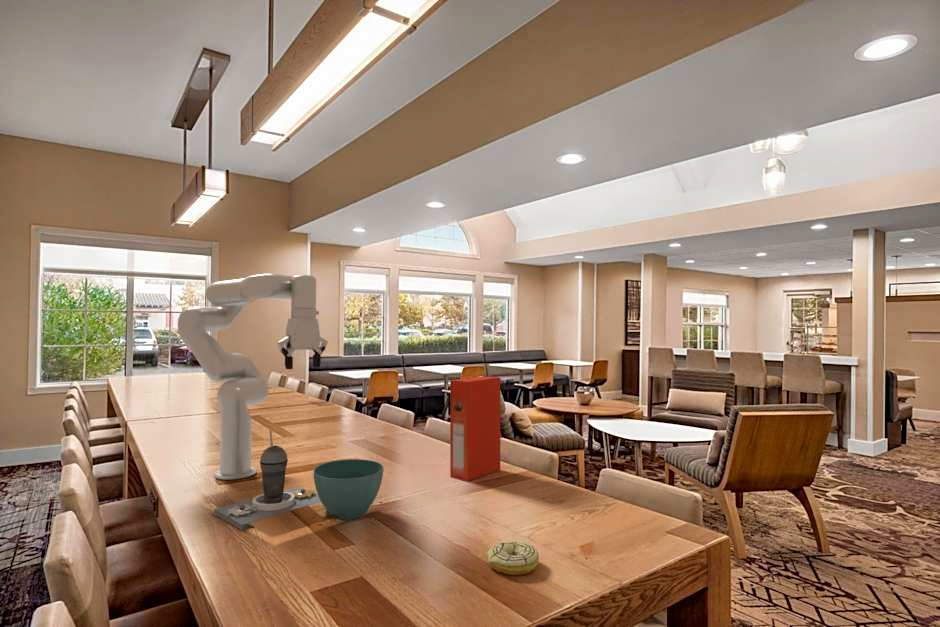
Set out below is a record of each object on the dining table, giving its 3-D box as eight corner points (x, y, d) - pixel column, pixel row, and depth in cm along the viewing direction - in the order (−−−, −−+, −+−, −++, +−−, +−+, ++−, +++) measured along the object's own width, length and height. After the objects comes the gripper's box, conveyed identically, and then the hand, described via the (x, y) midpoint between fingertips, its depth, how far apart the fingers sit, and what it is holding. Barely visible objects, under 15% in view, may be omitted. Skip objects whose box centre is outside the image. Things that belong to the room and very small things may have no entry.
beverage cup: (277, 509, 138) (278, 433, 138) (253, 507, 140) (254, 432, 140) (292, 499, 145) (293, 427, 145) (269, 497, 147) (269, 426, 147)
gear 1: (222, 512, 135) (222, 506, 135) (248, 505, 141) (248, 499, 141) (234, 519, 131) (234, 513, 131) (261, 512, 136) (261, 505, 136)
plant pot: (394, 506, 145) (395, 462, 145) (360, 531, 128) (361, 481, 128) (338, 499, 151) (338, 456, 151) (298, 522, 134) (298, 473, 134)
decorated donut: (495, 552, 117) (495, 535, 117) (542, 559, 114) (542, 542, 114) (481, 573, 108) (481, 554, 108) (533, 581, 104) (533, 562, 104)
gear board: (214, 514, 138) (214, 503, 138) (299, 491, 157) (299, 481, 157) (242, 530, 128) (242, 518, 128) (330, 504, 146) (330, 493, 147)
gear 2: (285, 495, 149) (285, 490, 149) (307, 489, 154) (307, 484, 154) (298, 501, 144) (298, 495, 144) (320, 495, 149) (320, 489, 149)
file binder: (449, 476, 173) (450, 380, 173) (482, 465, 186) (482, 376, 187) (468, 481, 168) (469, 382, 168) (500, 470, 181) (501, 377, 181)
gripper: (320, 314, 175) (320, 365, 175) (272, 313, 162) (271, 369, 162) (333, 314, 170) (333, 367, 170) (284, 313, 157) (283, 370, 157)
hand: (303, 368), depth 166 cm, fingers open, 9 cm apart
